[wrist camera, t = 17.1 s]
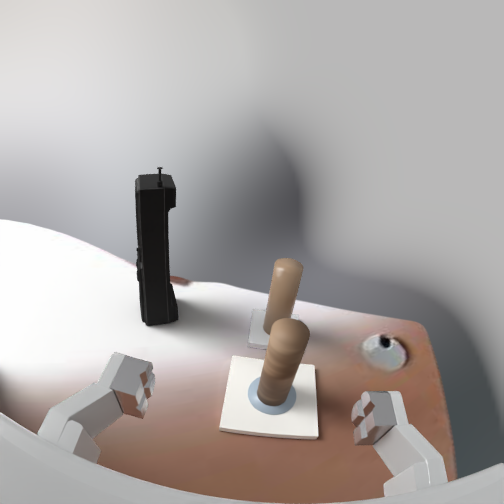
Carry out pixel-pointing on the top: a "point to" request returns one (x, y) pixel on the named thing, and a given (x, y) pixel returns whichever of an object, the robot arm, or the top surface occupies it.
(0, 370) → the top surface
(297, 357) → the walnut pin
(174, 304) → the portable radio
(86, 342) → the top surface
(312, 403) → the plate
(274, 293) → the tan wooden dowel
